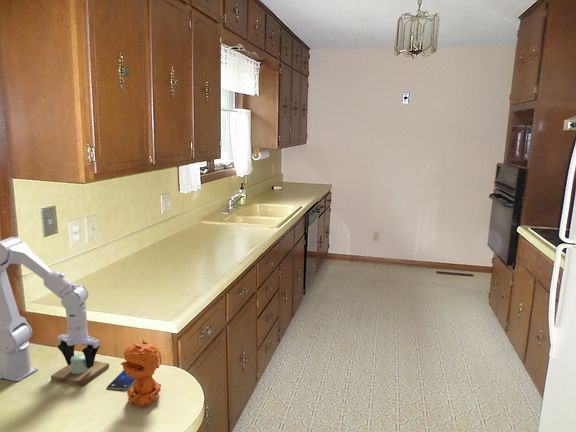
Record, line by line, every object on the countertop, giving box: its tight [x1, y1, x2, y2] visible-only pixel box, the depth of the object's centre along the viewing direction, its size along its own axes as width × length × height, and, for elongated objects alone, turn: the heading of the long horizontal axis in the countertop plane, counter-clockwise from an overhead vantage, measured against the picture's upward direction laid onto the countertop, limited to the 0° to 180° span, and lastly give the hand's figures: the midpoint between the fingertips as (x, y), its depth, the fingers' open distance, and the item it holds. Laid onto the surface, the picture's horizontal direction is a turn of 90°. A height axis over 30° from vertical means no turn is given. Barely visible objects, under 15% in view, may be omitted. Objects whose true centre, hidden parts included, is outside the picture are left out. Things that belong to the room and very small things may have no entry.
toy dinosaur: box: [120, 340, 162, 407], centre depth 126 cm, size 11×11×18 cm
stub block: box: [50, 360, 110, 387], centre depth 142 cm, size 12×12×4 cm
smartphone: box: [106, 369, 136, 392], centre depth 140 cm, size 7×1×15 cm
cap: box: [71, 353, 89, 374], centre depth 142 cm, size 5×5×4 cm
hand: (80, 365), depth 142 cm, fingers open, 7 cm apart
